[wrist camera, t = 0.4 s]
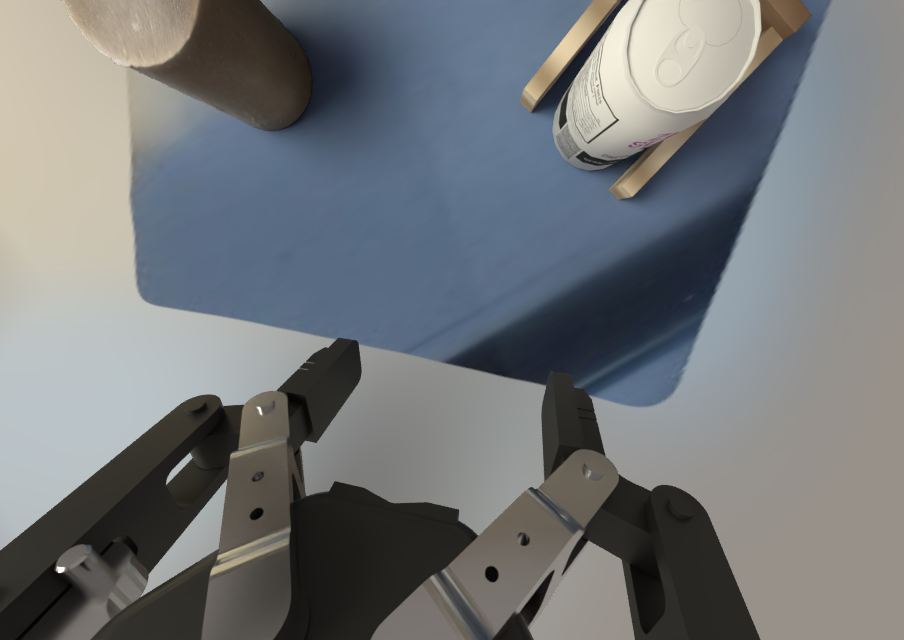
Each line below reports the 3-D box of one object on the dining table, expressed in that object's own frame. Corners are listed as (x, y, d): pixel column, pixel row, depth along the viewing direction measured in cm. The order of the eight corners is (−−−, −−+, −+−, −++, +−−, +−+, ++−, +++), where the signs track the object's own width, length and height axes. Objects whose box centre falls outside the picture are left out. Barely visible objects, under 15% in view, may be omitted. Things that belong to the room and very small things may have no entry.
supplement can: (587, 59, 31) (688, -94, 16) (654, 112, 32) (809, 11, 17) (534, 140, 33) (582, 67, 18) (599, 188, 34) (694, 154, 19)
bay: (618, 199, 34) (637, 195, 30) (519, 101, 32) (526, 83, 28) (767, 43, 30) (811, 15, 26) (662, -80, 28) (693, -130, 24)
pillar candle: (316, 31, 31) (180, -143, 17) (308, 141, 34) (183, 71, 20) (219, 11, 32) (3, -177, 17) (218, 122, 34) (29, 40, 20)
